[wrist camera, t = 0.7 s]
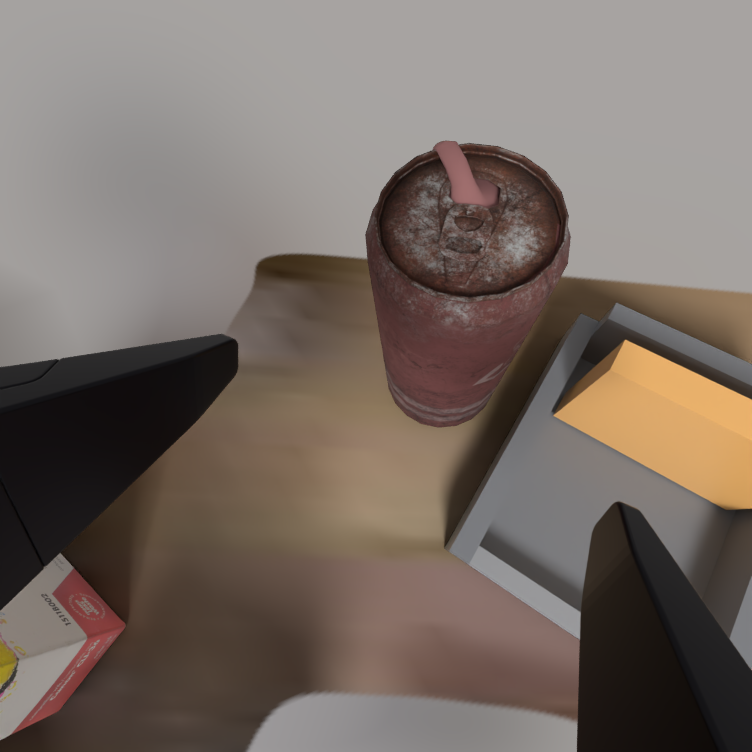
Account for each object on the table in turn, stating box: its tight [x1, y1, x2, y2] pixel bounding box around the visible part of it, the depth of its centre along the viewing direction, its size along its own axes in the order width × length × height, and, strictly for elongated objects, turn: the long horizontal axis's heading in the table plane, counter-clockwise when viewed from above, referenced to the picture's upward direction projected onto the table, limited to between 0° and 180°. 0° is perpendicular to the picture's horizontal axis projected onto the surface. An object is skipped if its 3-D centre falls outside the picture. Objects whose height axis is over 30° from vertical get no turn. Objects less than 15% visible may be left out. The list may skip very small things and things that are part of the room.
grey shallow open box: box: [444, 303, 752, 669], centre depth 20 cm, size 14×12×5 cm
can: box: [366, 141, 570, 427], centre depth 18 cm, size 6×6×14 cm
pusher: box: [553, 340, 752, 510], centre depth 19 cm, size 2×9×7 cm, turn 57°
